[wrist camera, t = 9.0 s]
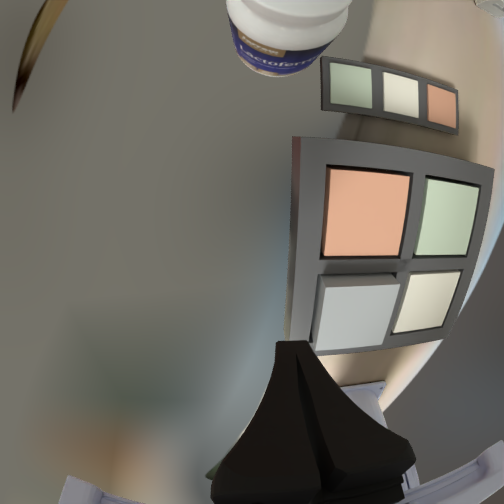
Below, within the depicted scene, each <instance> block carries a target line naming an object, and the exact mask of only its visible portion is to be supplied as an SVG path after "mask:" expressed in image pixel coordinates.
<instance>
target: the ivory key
mask: <svg viewBox="0 0 504 504" xmlns="http://www.w3.org/2000/svg"><path fill="white" fill-rule="evenodd" d="M459 276H460V271H458V270H457V269H453V270H433V271H409V273H408V276H407V280H406V284H405V288H404V291H403V295H402V298H401V302H400V305H399V309H398V312H397V315H396V318H395V321H394V324H393V327H392V331H393V333H397V332H404V331H411V330H418V329H424V328H430V327H436V326H441V325H442V323H443V321H444V318H445V316H446V313H447V310H448V308H449V305H450V302H451V300H452V297H453V294H454V291H455V288H456V285H457V282H458V279H459Z"/></svg>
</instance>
